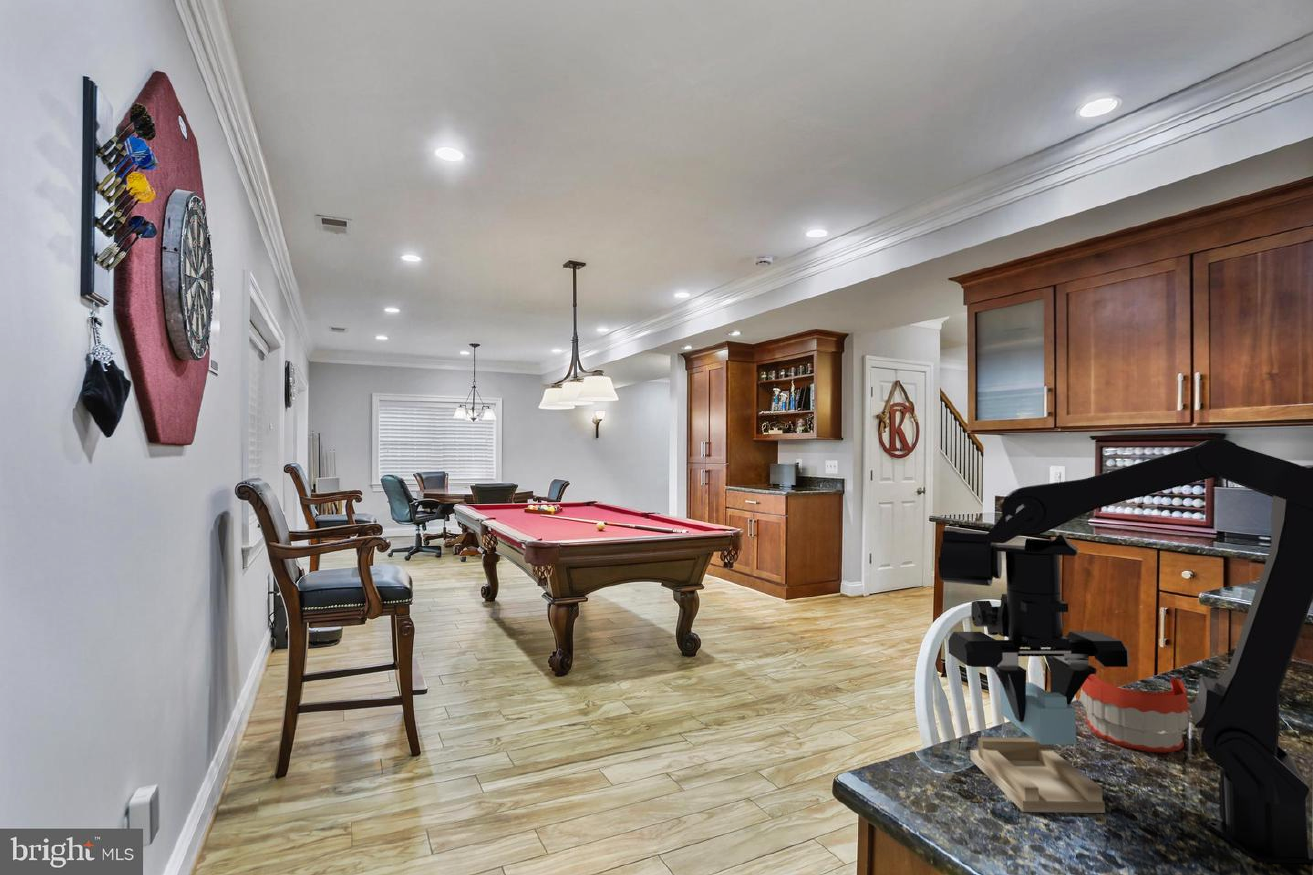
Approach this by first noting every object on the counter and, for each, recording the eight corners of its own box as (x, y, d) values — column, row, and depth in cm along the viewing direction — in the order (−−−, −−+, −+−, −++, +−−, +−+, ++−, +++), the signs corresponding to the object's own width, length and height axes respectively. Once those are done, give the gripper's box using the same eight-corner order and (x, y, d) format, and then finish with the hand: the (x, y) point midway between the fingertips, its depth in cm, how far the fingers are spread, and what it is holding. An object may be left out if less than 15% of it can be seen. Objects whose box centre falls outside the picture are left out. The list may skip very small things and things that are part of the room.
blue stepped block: (1076, 744, 74) (1074, 697, 74) (1040, 744, 74) (1039, 697, 74) (1032, 714, 83) (1031, 672, 83) (1000, 714, 83) (999, 672, 83)
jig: (1104, 812, 72) (1103, 779, 72) (1023, 811, 73) (1022, 779, 73) (1039, 759, 85) (1038, 731, 85) (970, 759, 86) (969, 731, 86)
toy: (1089, 746, 89) (1087, 688, 90) (1080, 720, 98) (1078, 667, 99) (1205, 765, 84) (1202, 702, 84) (1183, 735, 93) (1181, 679, 93)
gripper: (1070, 578, 86) (1075, 697, 86) (929, 578, 87) (932, 696, 86) (1129, 594, 75) (1135, 731, 74) (966, 595, 76) (971, 731, 75)
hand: (1037, 720), depth 78 cm, fingers closed on blue stepped block, 4 cm apart
